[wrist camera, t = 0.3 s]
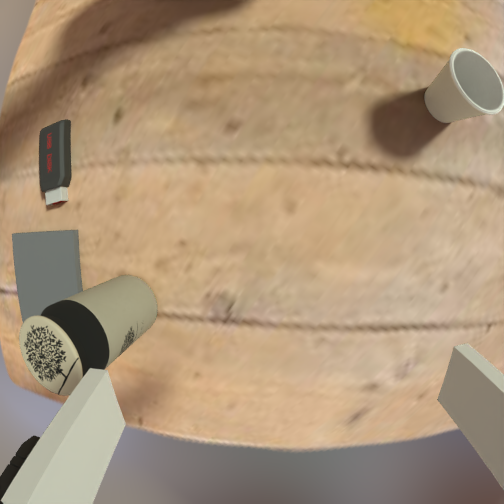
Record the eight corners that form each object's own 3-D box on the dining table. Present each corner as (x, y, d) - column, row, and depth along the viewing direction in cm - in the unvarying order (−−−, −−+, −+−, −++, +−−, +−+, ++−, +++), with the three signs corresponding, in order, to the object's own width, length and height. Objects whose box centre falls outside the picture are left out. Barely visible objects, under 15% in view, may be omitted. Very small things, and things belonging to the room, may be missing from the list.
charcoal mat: (16, 233, 39) (12, 233, 37) (78, 229, 38) (73, 230, 36) (28, 327, 40) (24, 330, 39) (89, 339, 39) (85, 342, 38)
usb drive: (72, 121, 36) (61, 116, 34) (74, 199, 38) (63, 198, 35) (47, 131, 37) (36, 128, 34) (49, 206, 38) (38, 206, 35)
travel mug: (96, 299, 38) (7, 344, 21) (129, 261, 37) (36, 294, 20) (134, 342, 39) (60, 411, 21) (170, 308, 38) (98, 373, 20)
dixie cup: (413, 120, 33) (451, 95, 23) (416, 68, 32) (448, 36, 22) (463, 141, 32) (507, 125, 22) (464, 90, 31) (502, 67, 21)
